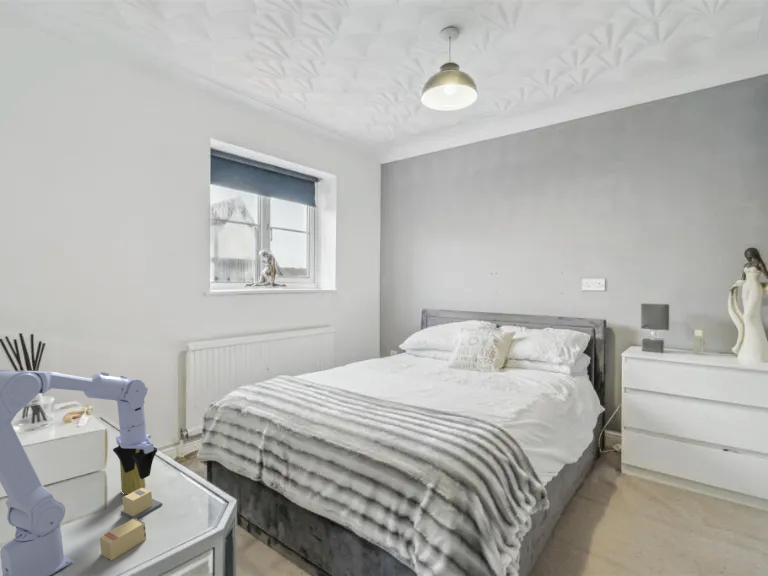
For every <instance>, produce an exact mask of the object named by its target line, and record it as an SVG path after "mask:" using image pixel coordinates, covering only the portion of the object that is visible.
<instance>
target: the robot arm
mask: <svg viewBox="0 0 768 576" xmlns="http://www.w3.org/2000/svg"><path fill="white" fill-rule="evenodd" d="M51 389H54V390H57V389H59V390H66V391H67V390H68V391H79V392H83V394H84V395H85V396H86V397H87V398H91V399H99V400H109V401H116V403H117V413H118V415H117V416H118V424H119V435H118V436H116V437H115V441H116V445H119V446H116V447H115V448H113V449H112V451H113V452H114V453H115V454H116V456H117V458H118V459H119V463H120V462H121V464H122V467H123V469H124V471H125V473H127V472H129V471H132V470H134V468H135V463H136V465H137V469H138V473H139V476H140V479H145V478H147V477H149V476H151V471H152V466H153V465H152V464H153V461H154V458H155V456H156V454H157V452H158V448H157V447H154V443H152V441H151V439H150V438H152V435H151V434H150V433H147V428H146V415H145V407H144V405H145V397H146V395H147V393H148V389H149V387H147V386H146V384H145V383H144V382H143V381H142V379H141V380H140V379H134V378H133V379H132V378H128V376H126V375H120V377H119V376H115V375H110V373H109V372H105V371H104V372H103V371H101V372H100V373H94V374H92V375H91V376H89V377H83V376H79V375H78V376H77V375H72V374H68V373H67V374H65V373H61V372H53V371H46V370H16V371H15V370H14V371H12V370H10V369H0V484H1V487H2V488H3V490H4V492H5V494H6V495H7V497H8V498H7V500H5V504H6V507H7V517H6V520H7V522H8V524H9V525H10V526H12V527H14V528H15V534H14V538H13V539H12V540H10V542H8V543H6V544H4V545H2V547H0V563H1V573H2V576H51V575H53V574H55V573H56V572H58V571H60V570H61V569H64V568H66V567H67V566H69V565H71V564H72V563H73V559H71V558H70V557H69V556H67V555H65V553H64V546H63V545H64V544H63V540H62V539H63V538H62V537H63V536H62V529H61V527H62V526H61V523H62V522H63V519H64V518H65V516H66V507H65V504H63V502H61V501H59V500H56V499H55V498H54V495H53V494H52V493H51V492H50V491H49V490H47V488H46V487H45V486H44V485H42V483H41V481H40V478H39V477H38V475H37V473H36V470H35V468H34V467H33V465H32V462H31V460H30V459H29V456H28V454H27V452H26V451H25V449H24V446H23V445H22V442H21V441H20V439H19V437H18V435H17V433H16V430H15V428H14V427H13V425H12V421H13V420H14V418H15V417H16V416H17V414H18V413H19V412H20V411H21V410H23V409H24V408H25V407H27V405H29V403H30V402H31V401H33V400H34V399H35V398H36V397H37V396H38V394H45V393H47V392H48V391H50V390H51ZM136 449H139V452H138V453H136Z"/></svg>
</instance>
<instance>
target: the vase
mask: <svg viewBox="0 0 768 576" xmlns="http://www.w3.org/2000/svg"><path fill="white" fill-rule="evenodd" d="M117 445H118V446H119V444H117ZM118 446H117V447H118ZM138 452H139V449H136V453H138ZM119 465H120V466H119V467H120V483H121V488H120V489H121V490H122V492H123V493H124V494H130V493H132V492H134V491H136V490H138V489H140V488H144V489H145V487H146V485H147V483H146V480H145V478H144V479H140V476H139V473H138V469H137V465H136V463H135V468H134V470H132V471H129V472H127V473H125V471H124V469H123V467H122V464H121V462H120V461H119ZM124 494H123V495H124Z"/></svg>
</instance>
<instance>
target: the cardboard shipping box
mask: <svg viewBox="0 0 768 576" xmlns="http://www.w3.org/2000/svg"><path fill="white" fill-rule="evenodd" d="M146 531H147V530H146V522H144V521H142V520H140V519H136V518H133V519H130V520H128V521H126V522H125V523H123V524H121V525H119V526H117V527H115V528H113V529H112V530H109V531H107V532H105V533H103V535H101V536H99V544H100V552H101V554H100V555H102V556H103V557H105V558H107V559H108V560H109V559H110V560H109V561H111V562H112V561H113V560H115V559H116V558H118V557H120V556H121V555H123V554H125V553H127V552H128V551H130V550H131V549H133V548H134V547H136V546H138V545H139V544H141V543H142V542H144V541H146V540H147V534H146V533H147V532H146Z"/></svg>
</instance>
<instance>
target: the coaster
mask: <svg viewBox="0 0 768 576" xmlns="http://www.w3.org/2000/svg"><path fill="white" fill-rule="evenodd" d="M162 506H163V502H160V501H159V500H156V499H154V498H152V506H151V507H149V508H147V509H146V510H144V511H142V512H140V513H138V514H137V515H135V516H131V515H129V514H127V513H125V512H124V509H121V511H120V513H121V514H122V515H124V516H126V517H128V518H130V520H132V519H133V518H136V519H138V520H140V518H143V517H144V516H145V515H147V514H150V513H151V512H153V511H155V510H156V509H158V508H160V507H162Z"/></svg>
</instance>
